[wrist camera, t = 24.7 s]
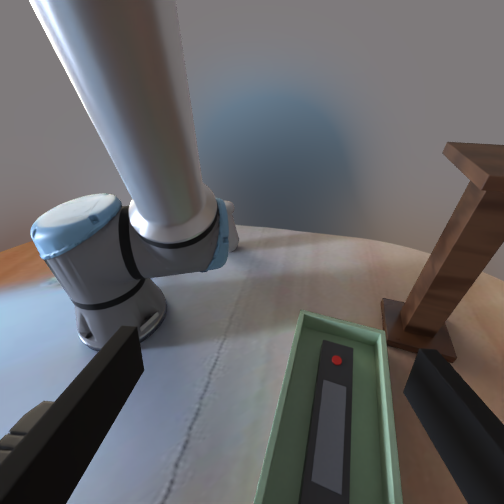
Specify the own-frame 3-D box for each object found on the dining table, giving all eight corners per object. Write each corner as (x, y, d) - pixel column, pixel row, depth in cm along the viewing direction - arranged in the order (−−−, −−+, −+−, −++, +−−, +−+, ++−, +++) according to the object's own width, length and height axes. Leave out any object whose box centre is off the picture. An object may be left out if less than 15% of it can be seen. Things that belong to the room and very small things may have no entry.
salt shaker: (216, 243, 67) (210, 199, 59) (236, 240, 68) (233, 196, 60) (220, 255, 62) (215, 210, 55) (241, 251, 64) (239, 206, 56)
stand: (456, 374, 37) (639, 187, 19) (385, 355, 40) (489, 174, 22) (434, 307, 48) (540, 146, 30) (379, 295, 51) (446, 141, 33)
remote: (342, 552, 23) (348, 550, 21) (294, 528, 24) (297, 524, 23) (349, 357, 39) (353, 347, 37) (320, 348, 40) (323, 338, 39)
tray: (398, 647, 20) (419, 657, 17) (242, 557, 23) (240, 555, 21) (377, 346, 41) (385, 330, 39) (298, 324, 45) (300, 309, 42)
